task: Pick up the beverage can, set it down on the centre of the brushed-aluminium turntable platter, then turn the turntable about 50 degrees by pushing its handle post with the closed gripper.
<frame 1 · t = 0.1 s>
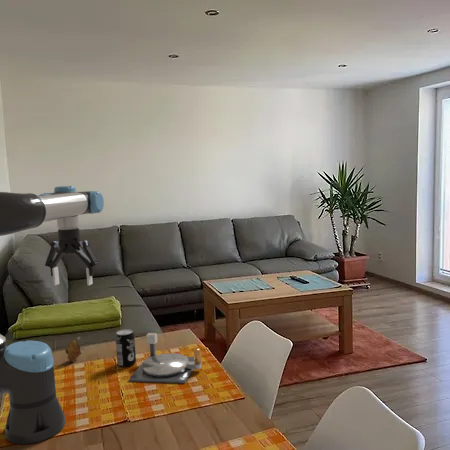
hand: (73, 284, 176), 28 cm above the table, fingers open, 13 cm apart
beverage can: (126, 364, 170), on the table
turntable base: (166, 370, 163), on the table
turntable: (171, 357, 162), point 5 cm above the table, hinge at 0.0°
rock: (76, 360, 176), on the table
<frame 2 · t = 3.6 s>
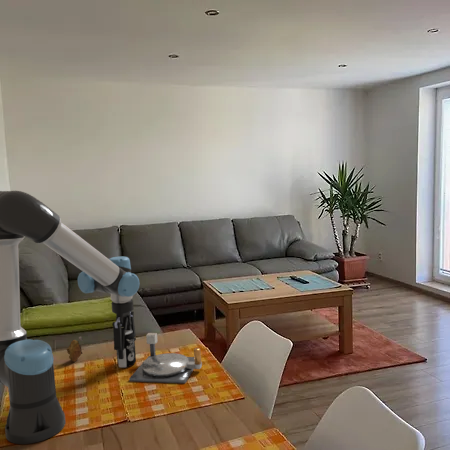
hand: (126, 362, 170), 0 cm above the table, fingers closed on beverage can, 6 cm apart
beverage can: (126, 364, 170), on the table, touching gripper
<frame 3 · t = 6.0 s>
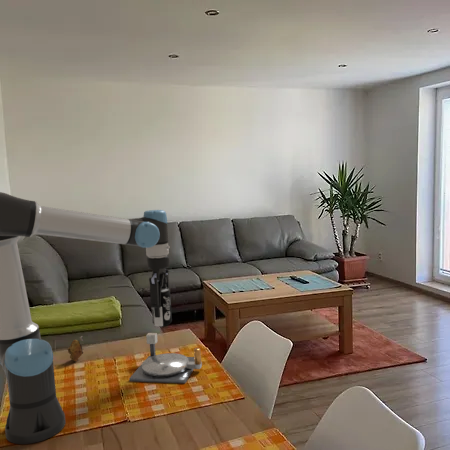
hand: (162, 322, 161), 17 cm above the table, fingers closed on beverage can, 6 cm apart
beverage can: (162, 324, 161), point 16 cm above the table, touching gripper
when the fingers open (4 cm above the table, at t = 8.7 s): beverage can stays where it is, resting on turntable.
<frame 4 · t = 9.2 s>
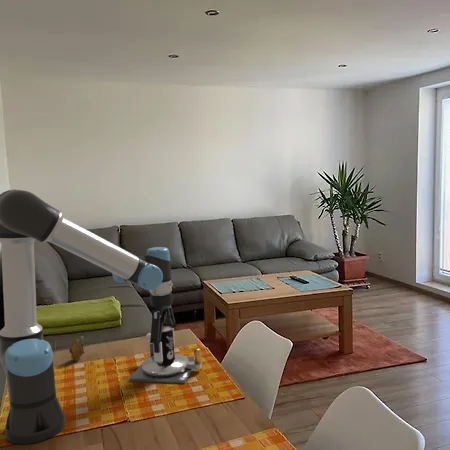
hand: (164, 353, 162), 6 cm above the table, fingers open, 13 cm apart
beverage can: (165, 362, 163), point 3 cm above the table, touching turntable
turntable: (171, 357, 162), point 5 cm above the table, hinge at 0.0°, touching beverage can
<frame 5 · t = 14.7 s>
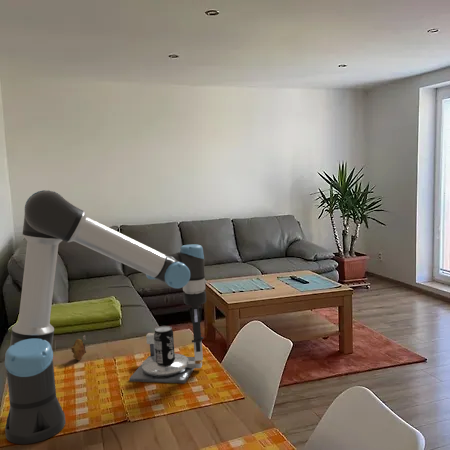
hand: (198, 359, 159), 5 cm above the table, fingers closed
turntable: (171, 357, 162), point 5 cm above the table, hinge at 3.4°, touching beverage can, gripper
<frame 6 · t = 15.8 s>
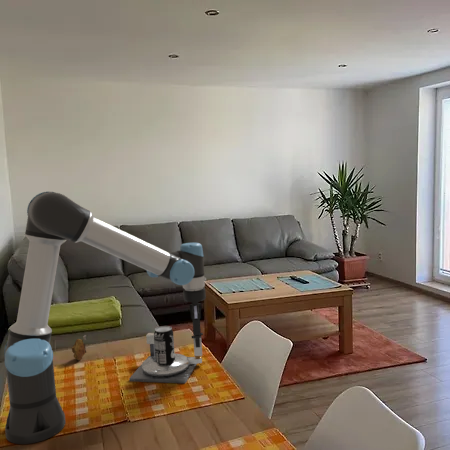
hand: (198, 354, 163), 5 cm above the table, fingers closed
turntable: (171, 356, 163), point 5 cm above the table, hinge at 24.0°, touching beverage can, gripper
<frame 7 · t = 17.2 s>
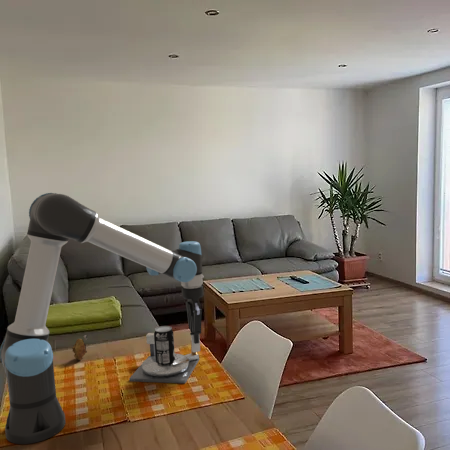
hand: (196, 351, 167), 4 cm above the table, fingers closed
turntable: (171, 355, 164), point 5 cm above the table, hinge at 44.3°, touching beverage can, gripper
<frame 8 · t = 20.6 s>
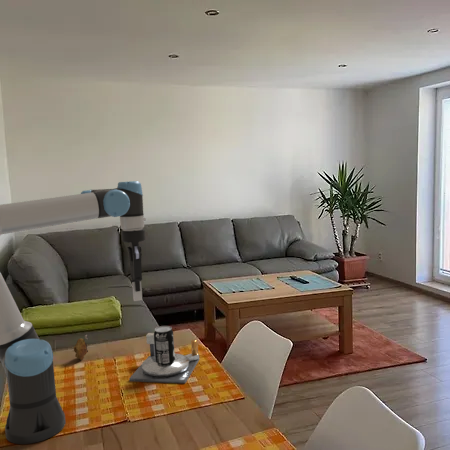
hand: (137, 300, 155), 26 cm above the table, fingers closed
turntable: (171, 355, 164), point 5 cm above the table, hinge at 42.5°, touching beverage can
at the end: beverage can 0.1 cm from the turntable (horizontally); beverage can tilted 1°; turntable at +42° (first picture: +0°) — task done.
